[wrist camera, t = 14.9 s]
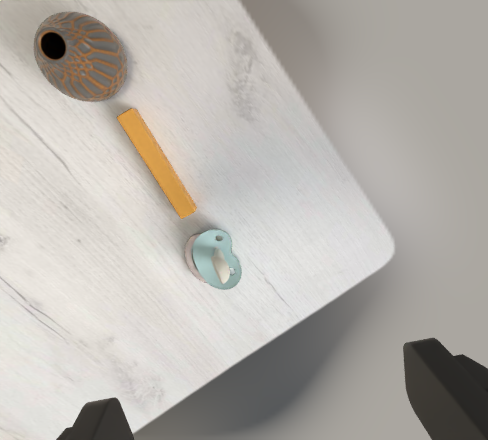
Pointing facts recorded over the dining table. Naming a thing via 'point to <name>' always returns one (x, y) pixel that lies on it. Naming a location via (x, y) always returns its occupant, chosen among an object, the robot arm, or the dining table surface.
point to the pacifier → (213, 259)
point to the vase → (80, 56)
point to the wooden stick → (157, 162)
